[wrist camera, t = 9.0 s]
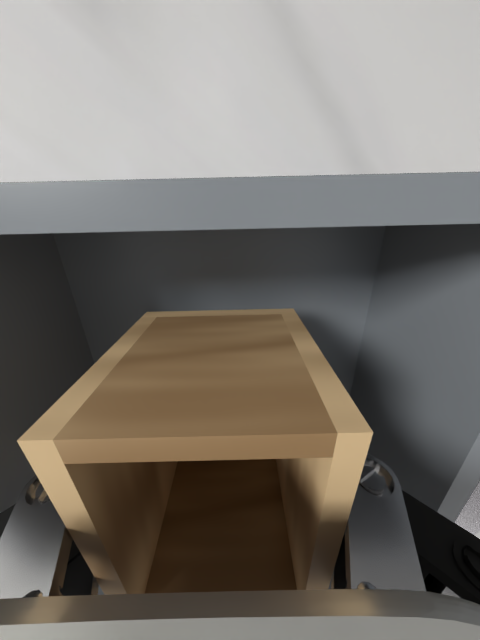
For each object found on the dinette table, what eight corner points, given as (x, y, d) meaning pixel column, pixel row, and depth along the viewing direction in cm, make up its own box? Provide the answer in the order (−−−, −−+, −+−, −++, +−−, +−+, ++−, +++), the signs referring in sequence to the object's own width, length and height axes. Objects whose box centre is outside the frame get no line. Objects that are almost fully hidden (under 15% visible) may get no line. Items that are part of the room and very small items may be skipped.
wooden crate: (146, 311, 9) (16, 440, 4) (293, 308, 9) (373, 432, 4) (173, 448, 13) (122, 626, 7) (282, 445, 13) (318, 622, 7)
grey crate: (40, 209, 10) (-294, 189, 4) (398, 202, 10) (669, 167, 4) (121, 455, 17) (47, 604, 10) (342, 450, 17) (409, 595, 10)
